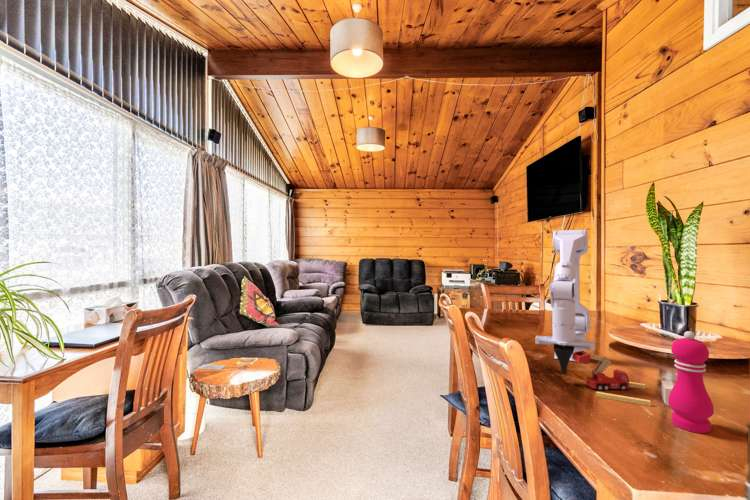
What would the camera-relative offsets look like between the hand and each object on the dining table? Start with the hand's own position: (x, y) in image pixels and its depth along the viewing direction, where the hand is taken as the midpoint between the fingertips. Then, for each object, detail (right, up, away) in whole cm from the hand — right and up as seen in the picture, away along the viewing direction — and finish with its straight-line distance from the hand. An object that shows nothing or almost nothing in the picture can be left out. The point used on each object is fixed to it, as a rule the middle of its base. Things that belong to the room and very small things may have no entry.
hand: (564, 372), depth 101 cm
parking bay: (+13, -3, -8) cm, 16 cm away
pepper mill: (+13, -3, -25) cm, 28 cm away
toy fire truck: (+8, -3, -4) cm, 9 cm away
